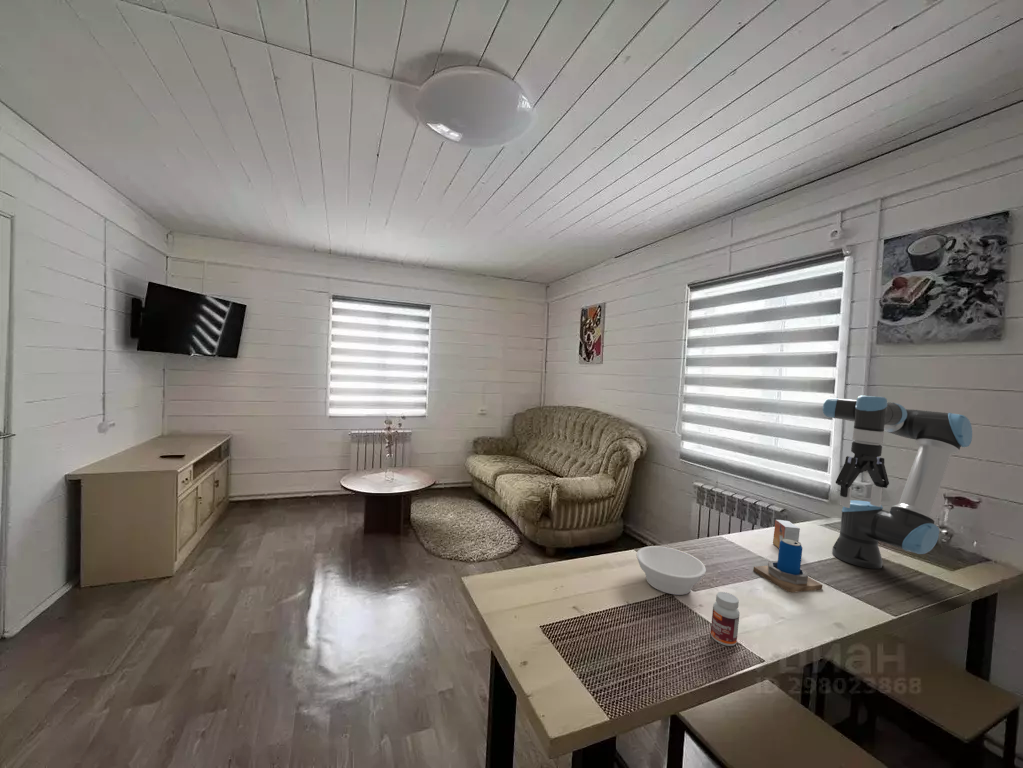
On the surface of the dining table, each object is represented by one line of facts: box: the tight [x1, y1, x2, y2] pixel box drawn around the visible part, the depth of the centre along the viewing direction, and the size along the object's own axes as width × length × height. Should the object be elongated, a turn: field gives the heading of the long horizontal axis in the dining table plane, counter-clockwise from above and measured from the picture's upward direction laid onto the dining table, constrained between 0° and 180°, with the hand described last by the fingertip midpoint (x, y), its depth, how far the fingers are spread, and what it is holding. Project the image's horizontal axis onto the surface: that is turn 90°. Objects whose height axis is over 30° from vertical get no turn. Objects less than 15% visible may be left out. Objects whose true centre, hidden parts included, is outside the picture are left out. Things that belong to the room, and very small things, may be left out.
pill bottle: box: [710, 591, 740, 647], centre depth 106 cm, size 6×6×11 cm
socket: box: [753, 560, 823, 593], centre depth 141 cm, size 14×14×4 cm
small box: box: [772, 519, 801, 549], centre depth 167 cm, size 8×6×10 cm
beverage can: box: [777, 538, 803, 575], centre depth 140 cm, size 6×6×12 cm
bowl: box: [636, 545, 707, 596], centre depth 132 cm, size 21×21×8 cm
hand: (860, 506), depth 135 cm, fingers open, 13 cm apart
